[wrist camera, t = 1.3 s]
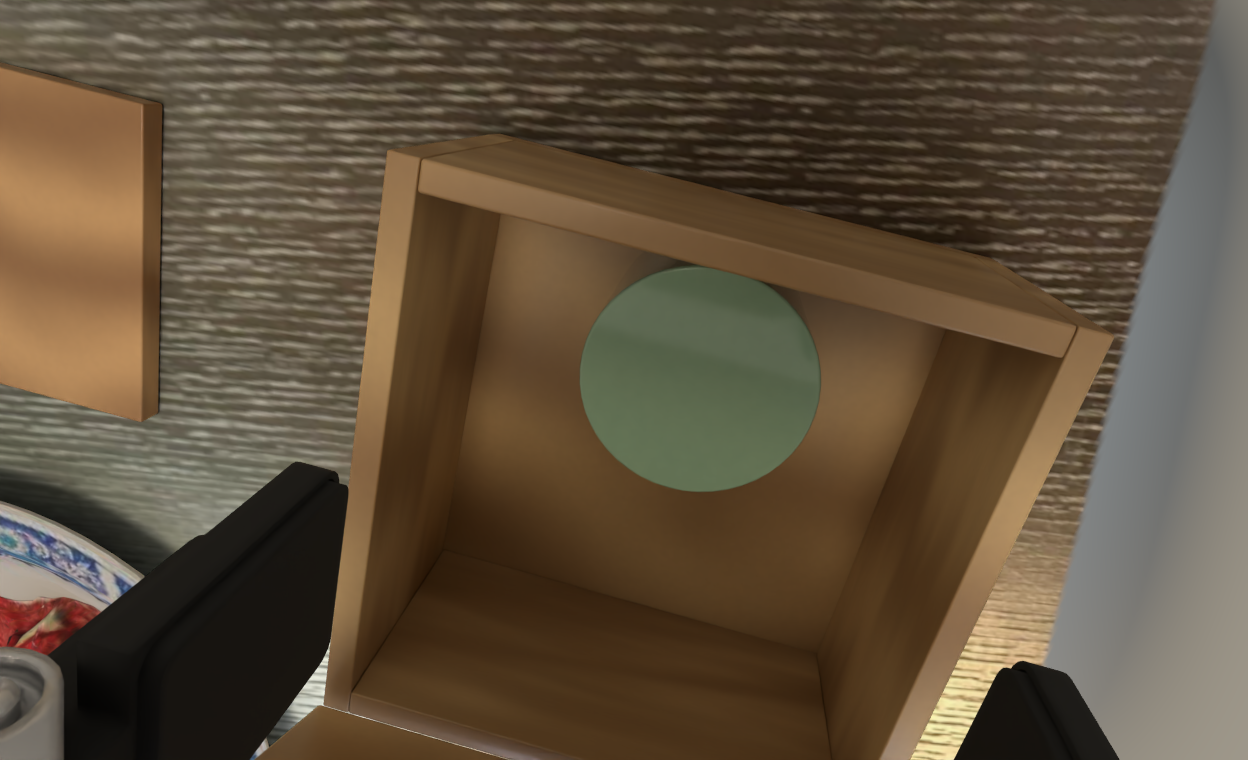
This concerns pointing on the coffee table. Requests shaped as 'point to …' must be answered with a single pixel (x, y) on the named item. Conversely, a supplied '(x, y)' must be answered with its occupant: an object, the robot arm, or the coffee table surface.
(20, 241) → the trivet
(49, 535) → the ceramic plate
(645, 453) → the sage green cylinder
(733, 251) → the chest
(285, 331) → the coffee table surface
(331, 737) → the lid
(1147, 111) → the coffee table surface
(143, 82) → the coffee table surface
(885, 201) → the coffee table surface
